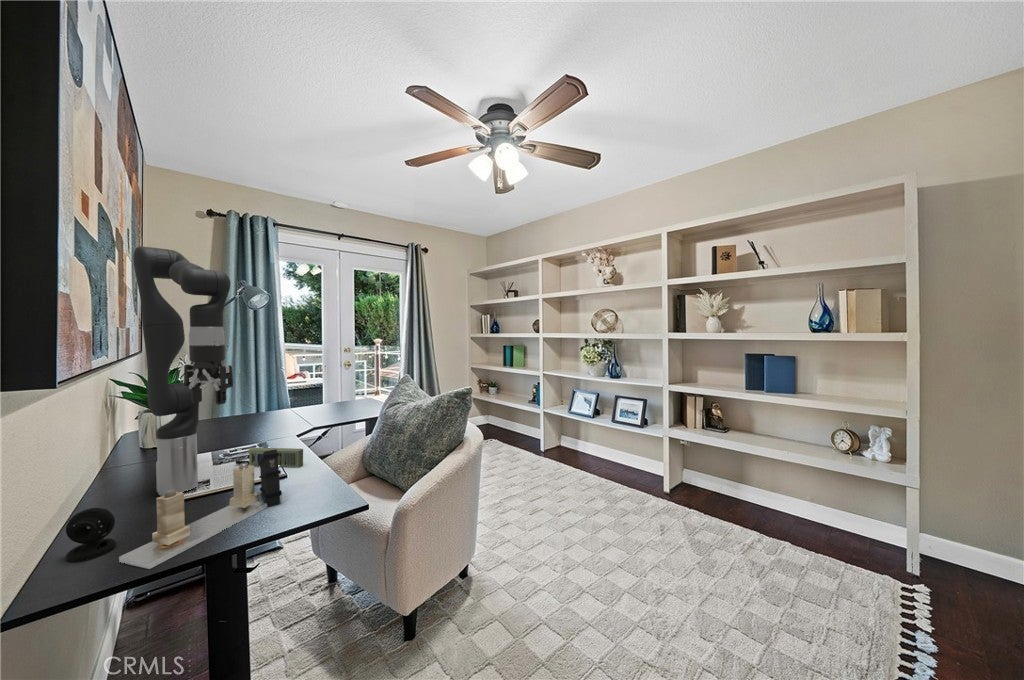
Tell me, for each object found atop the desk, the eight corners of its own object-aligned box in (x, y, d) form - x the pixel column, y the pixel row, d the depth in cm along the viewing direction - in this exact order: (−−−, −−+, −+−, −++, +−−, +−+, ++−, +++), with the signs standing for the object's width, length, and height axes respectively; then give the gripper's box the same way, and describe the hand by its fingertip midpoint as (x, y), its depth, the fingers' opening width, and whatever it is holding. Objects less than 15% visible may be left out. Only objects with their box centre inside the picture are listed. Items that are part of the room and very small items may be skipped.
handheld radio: (298, 468, 135) (232, 467, 137) (304, 465, 139) (239, 464, 140) (299, 450, 135) (232, 448, 137) (304, 447, 139) (239, 446, 140)
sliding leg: (152, 544, 85) (151, 494, 85) (174, 533, 89) (172, 486, 89) (168, 547, 84) (167, 496, 84) (190, 536, 88) (188, 488, 88)
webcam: (55, 566, 80) (54, 520, 79) (79, 547, 86) (77, 504, 86) (105, 557, 83) (103, 512, 82) (124, 539, 90) (122, 498, 89)
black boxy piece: (268, 505, 103) (263, 451, 108) (261, 510, 112) (256, 460, 117) (284, 501, 106) (278, 448, 110) (276, 506, 115) (271, 457, 119)
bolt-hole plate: (119, 562, 81) (117, 502, 81) (242, 503, 108) (241, 458, 108) (149, 569, 79) (147, 508, 78) (267, 507, 106) (266, 461, 105)
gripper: (172, 343, 100) (173, 404, 100) (213, 344, 96) (214, 407, 97) (201, 342, 107) (203, 399, 108) (241, 343, 103) (242, 401, 104)
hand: (208, 403), depth 102 cm, fingers open, 8 cm apart
